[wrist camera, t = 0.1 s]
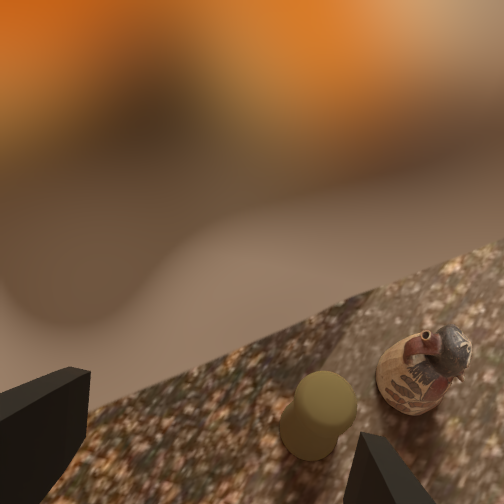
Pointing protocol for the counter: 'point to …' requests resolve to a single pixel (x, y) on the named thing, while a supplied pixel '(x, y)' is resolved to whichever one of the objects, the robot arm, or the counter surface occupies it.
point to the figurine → (423, 368)
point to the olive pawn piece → (318, 415)
